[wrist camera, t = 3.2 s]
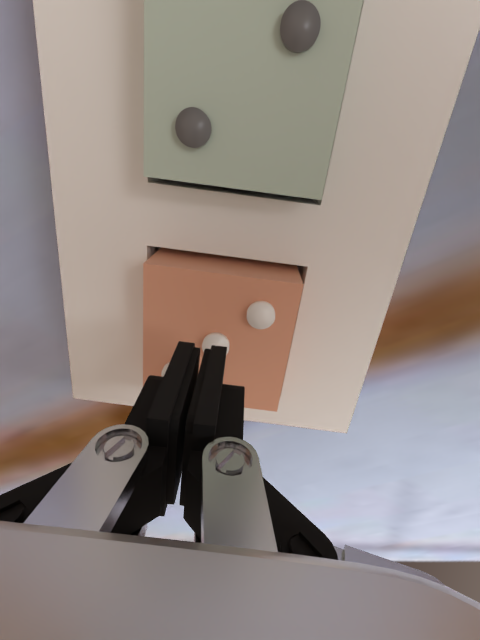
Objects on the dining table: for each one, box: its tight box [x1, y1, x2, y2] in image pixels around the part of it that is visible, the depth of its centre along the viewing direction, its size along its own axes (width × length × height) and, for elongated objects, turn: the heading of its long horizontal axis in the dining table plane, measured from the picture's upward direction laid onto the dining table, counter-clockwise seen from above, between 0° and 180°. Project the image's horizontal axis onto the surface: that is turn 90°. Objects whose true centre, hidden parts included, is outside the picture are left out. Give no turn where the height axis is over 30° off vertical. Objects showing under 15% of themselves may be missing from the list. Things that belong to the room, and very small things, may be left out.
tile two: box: [144, 0, 363, 200], centre depth 11 cm, size 6×6×3 cm
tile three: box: [143, 247, 304, 412], centre depth 15 cm, size 6×6×3 cm
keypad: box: [33, 0, 480, 433], centre depth 13 cm, size 14×28×3 cm, turn 173°
